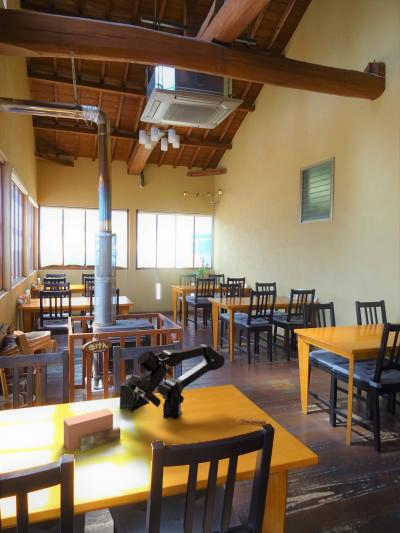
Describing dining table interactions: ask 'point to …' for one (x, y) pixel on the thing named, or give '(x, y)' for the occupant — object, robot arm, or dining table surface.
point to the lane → (99, 438)
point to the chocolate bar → (251, 421)
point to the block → (86, 426)
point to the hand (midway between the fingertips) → (129, 411)
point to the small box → (125, 395)
